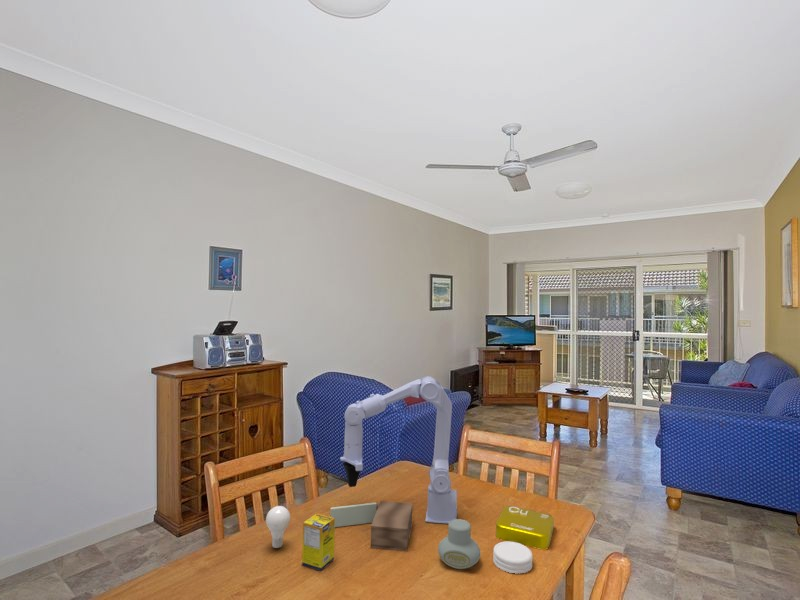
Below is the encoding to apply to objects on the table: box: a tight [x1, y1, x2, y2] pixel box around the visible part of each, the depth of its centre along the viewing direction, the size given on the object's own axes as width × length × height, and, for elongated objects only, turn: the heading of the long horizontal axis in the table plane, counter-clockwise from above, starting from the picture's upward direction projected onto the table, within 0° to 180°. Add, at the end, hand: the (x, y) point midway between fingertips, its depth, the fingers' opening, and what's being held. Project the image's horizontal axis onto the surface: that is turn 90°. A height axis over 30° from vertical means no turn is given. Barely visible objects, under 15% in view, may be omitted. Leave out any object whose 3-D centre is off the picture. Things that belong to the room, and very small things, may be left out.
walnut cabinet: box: [370, 500, 413, 552], centre depth 130 cm, size 10×16×6 cm, turn 173°
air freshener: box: [437, 518, 481, 570], centre depth 117 cm, size 11×8×10 cm
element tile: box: [495, 505, 555, 550], centre depth 133 cm, size 15×15×5 cm
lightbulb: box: [265, 505, 291, 549], centre depth 122 cm, size 6×6×11 cm
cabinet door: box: [329, 502, 379, 528], centre depth 136 cm, size 2×15×6 cm, turn 108°
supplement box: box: [301, 513, 336, 572], centre depth 115 cm, size 6×6×11 cm
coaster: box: [492, 541, 533, 575], centre depth 117 cm, size 10×10×4 cm
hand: (352, 485), depth 141 cm, fingers closed
